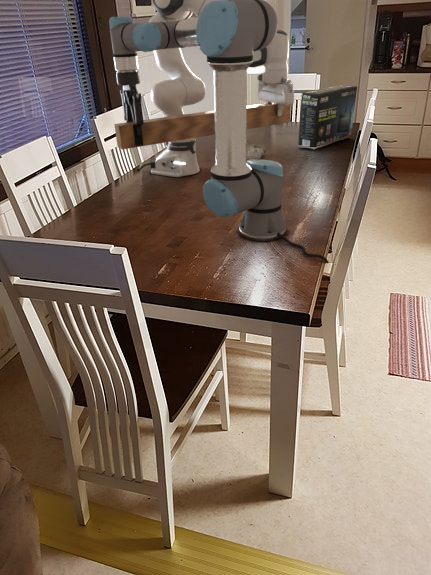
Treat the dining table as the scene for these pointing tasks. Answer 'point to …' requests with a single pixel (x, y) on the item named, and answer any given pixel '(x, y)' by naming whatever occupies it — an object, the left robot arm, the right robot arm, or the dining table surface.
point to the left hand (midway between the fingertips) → (274, 114)
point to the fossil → (254, 151)
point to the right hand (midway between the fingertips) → (136, 143)
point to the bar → (194, 125)
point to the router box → (326, 115)
